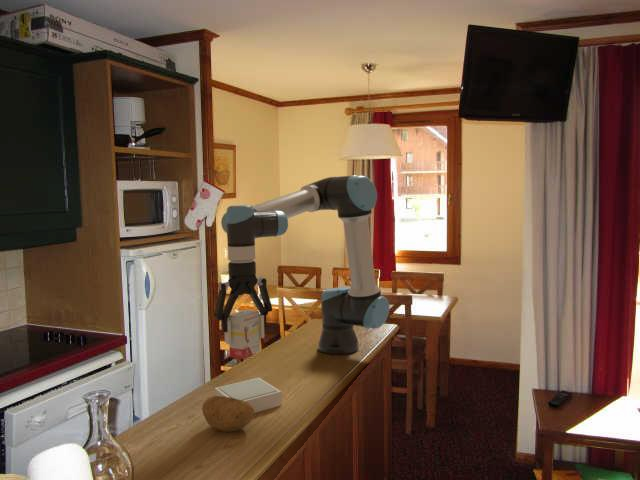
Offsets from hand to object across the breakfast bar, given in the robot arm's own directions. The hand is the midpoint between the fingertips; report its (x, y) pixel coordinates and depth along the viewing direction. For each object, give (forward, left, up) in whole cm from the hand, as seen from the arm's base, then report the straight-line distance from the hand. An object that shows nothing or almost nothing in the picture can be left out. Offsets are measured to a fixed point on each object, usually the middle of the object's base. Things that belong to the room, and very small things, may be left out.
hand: (244, 340), depth 148 cm
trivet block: (0, 0, -18) cm, 18 cm away
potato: (+11, +12, -19) cm, 25 cm away
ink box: (0, 0, -4) cm, 4 cm away
